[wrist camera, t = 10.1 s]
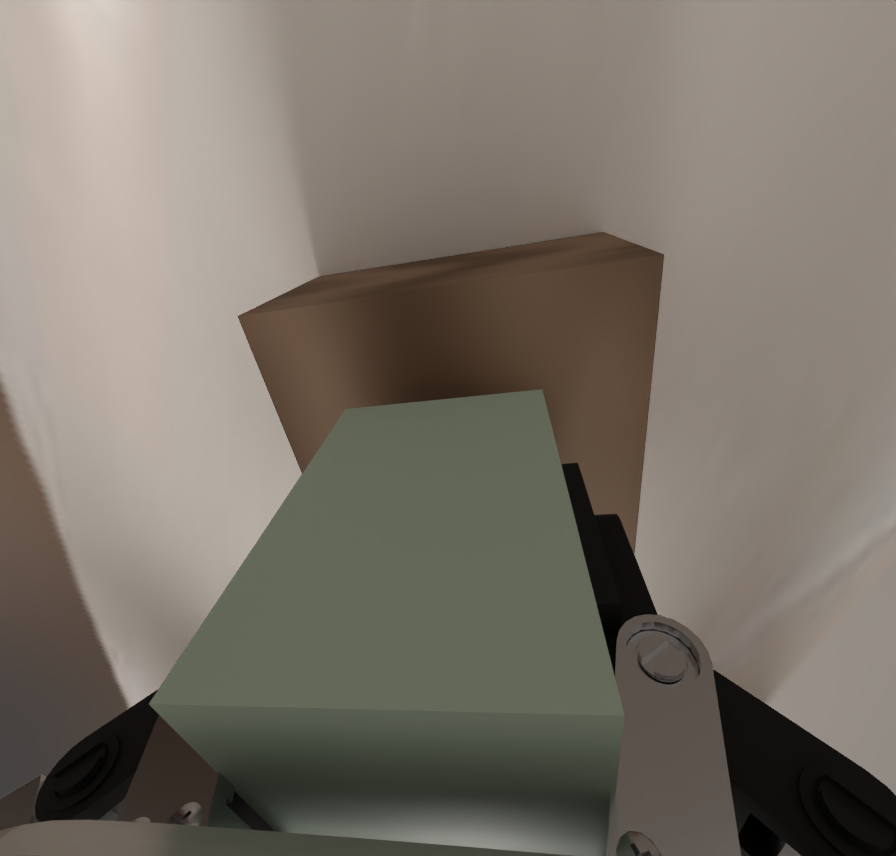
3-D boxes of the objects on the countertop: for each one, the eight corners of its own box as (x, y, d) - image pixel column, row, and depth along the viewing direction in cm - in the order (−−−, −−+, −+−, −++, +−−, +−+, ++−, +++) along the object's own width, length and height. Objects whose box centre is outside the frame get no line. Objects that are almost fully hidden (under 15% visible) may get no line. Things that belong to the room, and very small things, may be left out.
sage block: (542, 389, 10) (623, 714, 4) (550, 563, 13) (603, 901, 7) (345, 409, 10) (148, 704, 4) (395, 568, 13) (318, 875, 7)
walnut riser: (603, 232, 15) (664, 254, 9) (596, 476, 20) (631, 576, 15) (318, 276, 16) (237, 316, 11) (382, 490, 22) (347, 584, 16)
